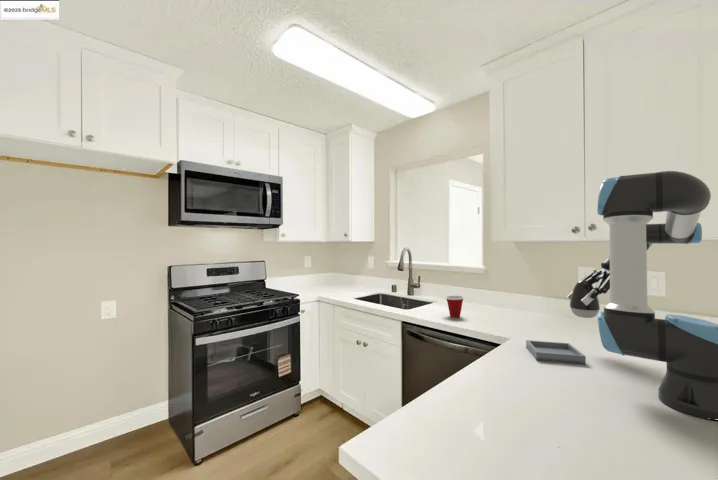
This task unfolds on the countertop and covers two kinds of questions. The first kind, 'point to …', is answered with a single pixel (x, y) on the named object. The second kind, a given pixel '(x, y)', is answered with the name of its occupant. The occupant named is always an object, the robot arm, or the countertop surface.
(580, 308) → the black egg-shaped dome
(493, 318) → the countertop surface
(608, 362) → the countertop surface
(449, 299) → the plastic cup
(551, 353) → the tray
